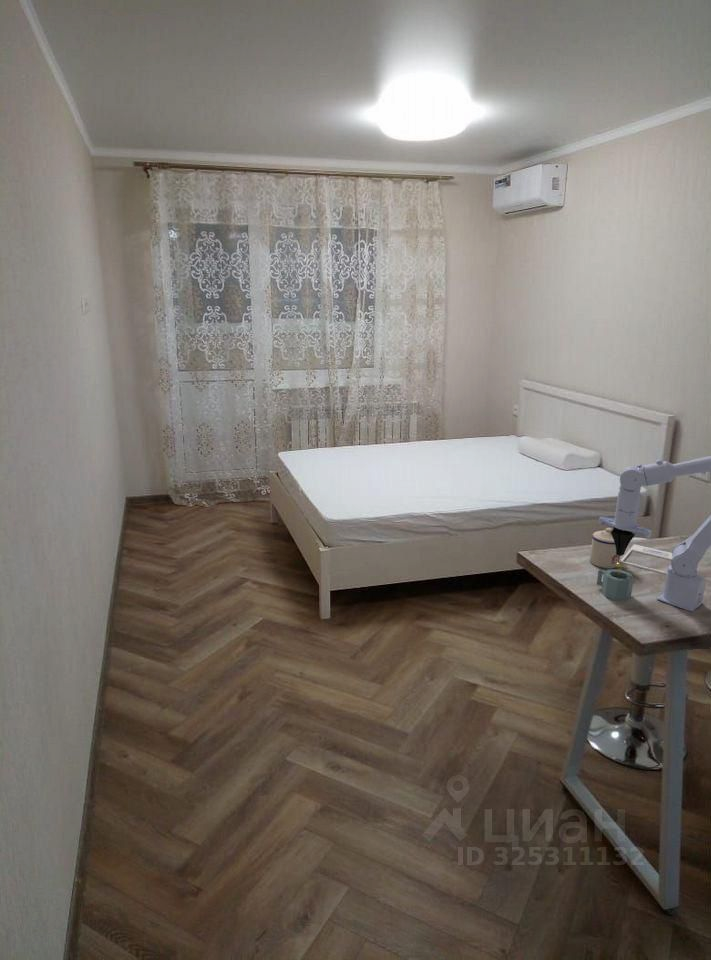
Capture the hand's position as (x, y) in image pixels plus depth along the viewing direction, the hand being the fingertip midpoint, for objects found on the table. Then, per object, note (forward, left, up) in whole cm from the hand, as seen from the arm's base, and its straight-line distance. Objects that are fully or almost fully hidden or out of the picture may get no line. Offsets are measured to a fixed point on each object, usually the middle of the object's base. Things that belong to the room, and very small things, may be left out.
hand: (620, 554), depth 182 cm
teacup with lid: (+11, -15, -11) cm, 22 cm away
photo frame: (+2, -28, -11) cm, 31 cm away
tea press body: (-1, +4, -10) cm, 11 cm away
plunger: (-2, +4, -6) cm, 8 cm away
